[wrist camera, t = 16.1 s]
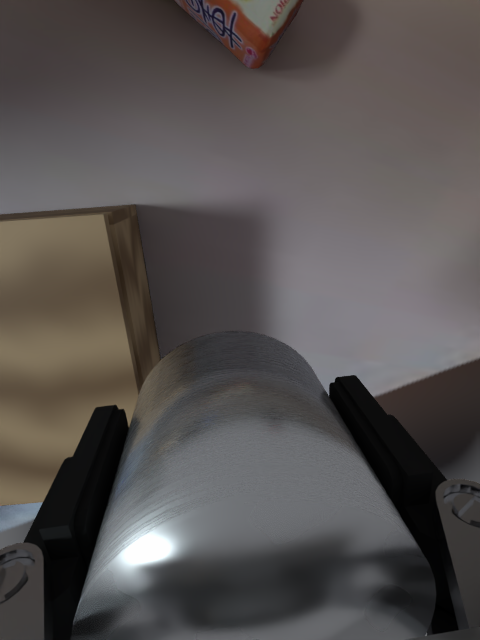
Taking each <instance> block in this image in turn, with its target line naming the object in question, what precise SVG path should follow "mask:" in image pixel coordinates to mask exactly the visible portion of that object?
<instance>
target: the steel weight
mask: <svg viewBox="0 0 480 640" xmlns="http://www.w3.org/2000/svg"><path fill="white" fill-rule="evenodd" d="M435 602H436V587H435V579H434V576H433V573H432V570H431V567H430V564H429V563H428V561H427V559H426V558H425V556H424V554H423V553H422V551H421V549H420V548H419V546H418V544H417V543H416V541H415V539H414V538H413V536H412V534H411V533H410V531H409V529H408V528H407V526H406V524H405V523H404V521H403V519H402V518H401V516H400V514H399V513H398V511H397V509H396V508H395V506H394V504H393V503H392V501H391V499H390V498H389V496H388V494H387V493H386V491H385V489H384V488H383V486H382V484H381V483H380V481H379V479H378V478H377V476H376V474H375V473H374V471H373V469H372V468H371V466H370V464H369V463H368V461H367V459H366V458H365V456H364V454H363V453H362V451H361V449H360V448H359V446H358V444H357V443H356V441H355V439H354V438H353V436H352V434H351V432H350V431H349V429H348V427H347V426H346V424H345V422H344V421H343V419H342V417H341V416H340V414H339V412H338V411H337V409H336V407H335V406H334V404H333V402H332V401H331V399H330V397H329V396H328V394H327V392H326V391H325V389H324V387H323V386H322V384H321V382H320V381H319V379H318V377H317V376H316V374H315V372H314V371H313V369H312V367H311V366H310V365H309V364H308V362H307V361H306V360H305V359H304V358H303V357H302V356H301V355H300V354H299V353H298V352H297V351H296V350H294V349H293V348H291V347H290V346H288V345H287V344H285V343H283V342H281V341H279V340H277V339H275V338H272V337H269V336H266V335H263V334H258V333H252V332H243V331H227V332H218V333H213V334H208V335H205V336H201V337H198V338H195V339H193V340H191V341H189V342H186V343H184V344H182V345H181V346H179V347H177V348H176V349H174V350H172V351H171V352H170V353H169V354H167V355H166V356H165V357H164V358H162V359H161V360H160V361H159V363H158V364H157V365H156V366H155V367H154V368H153V369H152V371H151V372H150V373H149V375H148V376H147V378H146V380H145V381H144V383H143V385H142V387H141V390H140V393H139V396H138V399H137V402H136V406H135V409H134V412H133V416H132V419H131V423H130V426H129V430H128V433H127V437H126V440H125V444H124V447H123V451H122V454H121V458H120V461H119V465H118V468H117V472H116V475H115V479H114V482H113V485H112V489H111V492H110V496H109V499H108V503H107V506H106V510H105V513H104V517H103V520H102V524H101V527H100V531H99V534H98V538H97V541H96V545H95V548H94V552H93V555H92V558H91V562H90V565H89V569H88V572H87V576H86V579H85V583H84V586H83V590H82V593H81V597H80V600H79V604H78V607H77V611H76V614H75V618H74V621H73V626H72V633H71V639H70V640H405V639H411V638H417V637H423V636H425V635H426V632H427V630H428V628H429V626H430V624H431V621H432V617H433V614H434V610H435Z"/></svg>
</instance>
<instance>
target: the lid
mask: <svg viewBox="0 0 480 640" xmlns="http://www.w3.org/2000/svg"><path fill="white" fill-rule="evenodd" d="M140 390H141V387H140V382H139V377H138V371H137V366H136V361H135V356H134V351H133V345H132V340H131V335H130V330H129V324H128V319H127V314H126V309H125V303H124V298H123V293H122V288H121V283H120V277H119V272H118V267H117V262H116V256H115V251H114V246H113V241H112V236H111V230H110V225H109V220H108V215H107V213H103V214H89V215H75V216H61V217H48V218H34V219H20V220H6V221H0V506H3V505H15V504H26V503H38V502H43V501H44V499H45V497H46V495H47V493H48V491H49V489H50V487H51V485H52V483H53V481H54V479H55V477H56V475H57V473H58V471H59V469H60V467H61V465H62V463H63V461H64V460H65V459H66V458H67V457H73V455H74V452H75V450H76V448H77V446H78V444H79V442H80V439H81V437H82V435H83V433H84V431H85V429H86V427H87V424H88V422H89V420H90V418H91V416H92V414H93V411H94V409H95V408H96V407H101V406H109V405H117V407H118V409H124V410H125V413H126V417H127V421H128V426H130V423H131V419H132V416H133V412H134V409H135V406H136V402H137V399H138V396H139V393H140Z"/></svg>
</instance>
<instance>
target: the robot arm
mask: <svg viewBox="0 0 480 640" xmlns="http://www.w3.org/2000/svg"><path fill="white" fill-rule="evenodd" d="M329 397H330V399H331V401H332V402H333V404H334V406H335V407H336V409H337V411H338V412H339V414H340V416H341V417H342V419H343V421H344V422H345V424H346V426H347V427H348V429H349V431H350V432H351V434H352V436H353V438H354V439H355V441H356V443H357V444H358V446H359V448H360V449H361V451H362V453H363V454H364V456H365V458H366V459H367V461H368V463H369V464H370V466H371V468H372V469H373V471H374V473H375V474H376V476H377V478H378V479H379V481H380V483H381V484H382V486H383V488H384V489H385V491H386V493H387V494H388V496H389V498H390V499H391V501H392V503H393V504H394V506H395V508H396V509H397V511H398V513H399V514H400V516H401V518H402V519H403V521H404V523H405V524H406V526H407V528H408V529H409V531H410V533H411V534H412V536H413V538H414V539H415V541H416V543H417V544H418V546H419V548H420V549H421V551H422V553H423V554H424V556H425V558H426V559H427V561H428V563H429V564H430V567H431V570H432V573H433V576H434V579H435V587H436V602H435V610H434V614H433V617H432V621H431V624H430V626H429V628H428V630H427V636H423V637H417V638H411V639H405V640H480V484H479V483H477V482H473V481H469V480H465V479H451V480H447V479H446V478H445V477H444V476H443V475H442V473H441V472H440V471H439V470H438V468H437V467H436V466H435V465H434V464H433V462H431V460H430V459H429V458H428V456H427V455H426V454H425V453H424V451H423V450H422V449H421V448H420V447H419V446H418V445H417V443H416V442H415V441H414V439H413V438H412V437H411V436H410V435H409V433H408V432H407V431H406V430H405V429H404V428H403V426H402V425H401V424H400V423H399V422H398V420H397V419H396V418H395V417H394V416H392V415H387V414H386V413H385V411H384V410H383V409H382V407H380V405H379V404H378V402H377V401H376V400H375V399H374V398H373V396H372V395H371V394H370V393H369V391H368V390H367V389H366V388H365V386H364V385H363V384H362V383H361V381H360V380H359V379H358V378H357V377H356V376H355V375H351V376H343V377H337V378H336V379H335V382H334V383H330V387H329ZM128 430H129V426H128V421H127V417H126V413H125V410H124V409H118V407H117V405H109V406H101V407H96V408H95V409H94V411H93V414H92V416H91V418H90V420H89V422H88V424H87V427H86V429H85V431H84V433H83V435H82V437H81V439H80V442H79V444H78V446H77V448H76V450H75V452H74V455H73V457H67V458H66V459H65V460H64V461H63V463H62V465H61V467H60V469H59V471H58V473H57V475H56V477H55V479H54V481H53V483H52V485H51V487H50V489H49V491H48V493H47V495H46V497H45V499H44V501H43V504H42V506H41V508H40V510H39V512H38V514H37V516H36V518H35V520H34V522H33V524H32V526H31V528H30V530H29V532H28V534H27V536H26V538H25V540H24V542H23V543H17V544H14V545H11V546H7V547H5V548H3V549H1V550H0V640H70V639H71V633H72V626H73V621H74V618H75V614H76V611H77V607H78V604H79V600H80V597H81V593H82V590H83V586H84V583H85V579H86V576H87V572H88V569H89V565H90V562H91V558H92V555H93V552H94V548H95V545H96V541H97V538H98V534H99V531H100V527H101V524H102V520H103V517H104V513H105V510H106V506H107V503H108V499H109V496H110V492H111V489H112V485H113V482H114V479H115V475H116V472H117V468H118V465H119V461H120V458H121V454H122V451H123V447H124V444H125V440H126V437H127V433H128Z"/></svg>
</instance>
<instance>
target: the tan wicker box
mask: <svg viewBox="0 0 480 640" xmlns="http://www.w3.org/2000/svg"><path fill="white" fill-rule="evenodd" d="M103 213H107V215H108V220H109V225H110V230H111V236H112V241H113V246H114V251H115V256H116V262H117V267H118V272H119V277H120V283H121V288H122V293H123V298H124V303H125V309H126V314H127V319H128V324H129V330H130V335H131V340H132V345H133V351H134V356H135V361H136V366H137V371H138V377H139V382H140V387H142V385H143V383H144V381H145V380H146V378H147V376H148V375H149V373H150V372H151V371H152V369H153V368H154V367H155V366H156V365H157V364H158V363H159V361H160V360H161V359H160V353H159V346H158V340H157V334H156V328H155V322H154V316H153V310H152V304H151V297H150V291H149V285H148V279H147V273H146V267H145V261H144V254H143V248H142V242H141V236H140V230H139V224H138V218H137V212H136V205H122V206H108V207H95V208H81V209H68V210H54V211H41V212H28V213H14V214H1V215H0V221H6V220H20V219H34V218H48V217H61V216H75V215H89V214H103Z"/></svg>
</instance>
